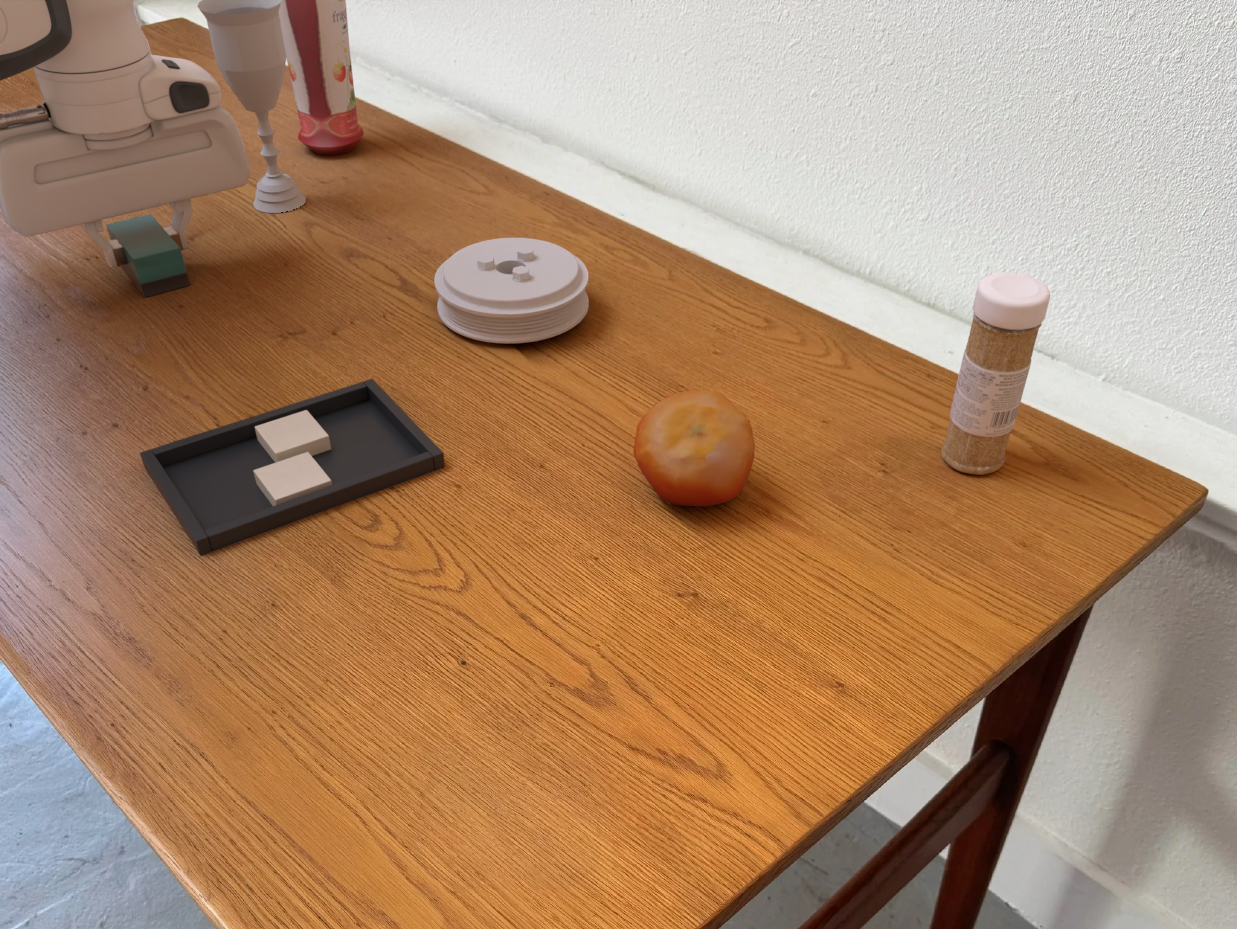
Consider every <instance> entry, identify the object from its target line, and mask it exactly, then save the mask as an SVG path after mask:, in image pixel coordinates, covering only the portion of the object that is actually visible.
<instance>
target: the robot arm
mask: <svg viewBox="0 0 1237 929" xmlns="http://www.w3.org/2000/svg"><path fill="white" fill-rule="evenodd" d="M135 2H136V0H0V81H3V80H6V79H8V78H11V77H14V76H16V75H18V74H21V73H23V72H26V71H28V70H31V69H32V68H33V72H34V74H35V78H36V80H37V83H38V84H37V85H38V87H39V90H40V94H41V97H42V99H43V103H41V104H36V105H31V106H27V107H22V108H20V109H16V110H13V111H10V112H9V111H8V112H0V211H1V214H2V217H3V219H4V221H5V222H6V224H7V225H8V227H9V228H10V229H11V230H12V231H14V232H15V233H17V234H19V235H20V236H22V237H25V238H30V237H34V236H38V235H39V236H40V235H42V234H43V235H44V234H46V233H47V234H48V233H52V232H55V231H56V232H57V231H59V230H63V229H68V228H72V227H77V226H80V228H82V229H83V232H85V234H86V235H87V236H88V237H89V239H91V240H92V241H93V242H95V243H96V245H98V246H99V247H100V248H101V249H102V252H103V256H104V258H105V261H106V263H107V265H108V266H109V268H111V269H115V268H118V267H121V266H122V265H126V264H128V263H127V259H126V257H125V252H124V249H123V246H122V245H121V244H120V243H119V241H118V240H117V239H114V240H108V239H107V238H106V237H104V235H102V232H104V230H105V229H104V224H103V220H106V219H110V218H115V217H118V216H124V215H127V214H132V213H136V212H141V211H145V210H148V209H153V208H157V207H161V206H166V205H169V206H170V207H171V208H172V209H173V210H174V211H173V214H172V218H171V221H170V225H168V226H164V227H162V228H163V229H164V230H165V231H166V232H167V233H168V234H169V236H170V237H171V238H172V239H173V240H174V241H175V243H176V244H177V245H178V246H179V247H180V249H181V252H182V251H186V250H189V243H188V239H187V235H186V231H187V229H188V226H189V223H190V220H191V216H192V213H193V211H194V210H193V206H192V203H191V202H192V201H191V200H192V199H195V198H199V197H204V196H208V195H212V194H216V193H221V192H225V191H229V190H234V189H238V188H243V187H245V186H246V185H247V183H248V180H249V179H250V176H251V173H252V170H251V165H250V160H249V157H248V154H247V149H246V146H245V143H244V140H243V138H242V135H241V132H240V129H239V126H238V124H237V122H236V120H235V118H234V117H233V116H232V114H231V113H230V112H229V111H228V110H227V109H226V108H225V107H224V106H222V105H221V104H222V101H223V97H222V90H221V87H220V85H219V83H218V82H217V80H216V79H215V78H214V77H213V76H212V75H211V74H210V72H208V71H207V70H206V69H204V67H202V66H200V65H198V64H197V63H195V62H194V61H191V60H189V59H184V58H178V57H172V56H163V55H158V54H157V55H156V54H152V51H151V47H150V44H149V41H148V38H147V37H146V34H145V33H144V31H143V29H142V27H141V26H140V23H139V20H138V16H137V13H136V12H137V11H136V3H135Z"/></svg>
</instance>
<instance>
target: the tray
mask: <svg viewBox="0 0 1237 929" xmlns="http://www.w3.org/2000/svg"><path fill="white" fill-rule="evenodd" d="M304 410H307V411H308V412H309V413H310V414H311V415H312V417H313V418H314V419H315V420H316V421H317V422H318V424H319V425H320V426H321V427H322V428H323V430H324V431H325V432H326V433H327V434H328V435H329V439H330V444H331V450H328V451H325V452H322V453H319V454H316V455H313V456H312V457H313V458H314V460H315V461H316V462H317V463H318V465H319V466H320V467H321V468H322V470H323V471H324V472H325V473H326V474H327V476H328V477H329V478H330V479H331V481H332V486H329V487H326V488H323V489H320V490H318V491H315V492H312V493H309V494H306V495H303V496H301V497H298V498H295V499H292V500H289V501H287V502H284V503H281V504H278V505H275V506H272V504H271V503H270V502H269V500H268V499H267V498H266V496H265V495H264V493H263V492H262V491H261V489H260V488H259V487H258V485H257V484H256V480H255V476H254V472H253V470H256V469H258V468H261V467H264V466H267V465H270V464H273V463H275V462H274V461H273V459H272V458H271V457H270V455H269V454H268V453H267V452H266V450H265V449H264V448H263V446H262V445H261V444H260V442H259V441H258V439H257V435H256V431H255V426H258V425H261V424H264V423H267V422H270V421H273V420H277V419H280V418H283V417H286V416H289V415H292V414H295V413H298V412H301V411H304ZM139 455H140V458H141V461H142V464H143V467H144V469H145V471H146V472H147V474H148V476H149V477H150V478H151V480H152V482H153V483H154V485H155V486H156V488H157V490H158V491H159V493H160V495H161V496H162V498H163V499H164V501H165V502H166V504H167V505H168V507H169V509H170V510H171V512H172V513H173V515H174V517H175V518H176V520H177V522H178V523H179V524H180V526H181V528H182V529H183V531H184V532H185V534H186V536H187V537H188V539H189V541H190V542H191V543H192V545H193V547H194V548H195V550H196V551H197V553H198V555H199V556H200V557H202V556H205V555H207V554H211V553H214V552H216V551H219V550H222V549H225V548H226V547H230V546H232V545H235V544H239V543H241V542H244V541H247V540H249V539H252V538H254V537H257V536H259V535H263V534H265V533H269V532H271V531H274V530H277V529H280V528H282V527H285V526H288V525H290V524H294V523H295V522H299V521H302V520H305V519H307V518H310V517H313V516H315V515H318V514H321V513H324V512H327V511H329V510H332V509H334V508H337V507H340V506H343V505H345V504H348V503H352V502H353V501H356V500H359V499H363V498H365V497H367V496H370V495H373V494H377V493H378V492H382V491H385V490H387V489H390V488H392V487H395V486H398V485H401V484H403V483H407V482H409V481H412V480H414V479H415V480H416V479H418V478H421V477H423V476H426V475H428V474H431V473H435V472H436V471H439V470H442V469H445V468H446V464H445V456H444V452H443V451H442V450H441V449H440V448H439V447H438V445H437V444H436V443H435V442H434V441H433V440H432V439H431V438H430V437H429V436H428V435H427V434H426V433H425V432H424V431H423V430H422V429H421V428H420V427H419V426H418V424H417V423H416V422H415V421H414V420H413V419H411V417H410V416H409V415H408V414H407V413H406V412H405V411H404V410H403V409H402V407H400V406H399V405H398V404H397V403H396V402H395V401H394V400H393V398H392V397H391V396H390V395H389V394H388V393H386V391H385V390H384V389H383V388H382V386H380V385H379V384H378V383H377V382H376V381H375V380H374V379H373V378H369V379H366V380H363V381H360V382H357V383H354V384H351V385H347V386H344V387H342V388H338V389H335V390H332V391H328V392H325V393H322V394H319V395H316V396H313V397H309V398H307V399H304V400H301V401H298V402H297V401H296V402H294V403H291V404H288V405H285V406H281V407H279V408H276V409H272V410H268V411H266V412H263V413H258V414H256V415H253V416H250V417H246V418H244V419H240V420H237V421H233V422H232V423H228V424H225V425H222V426H218V427H215V428H213V429H209V430H206V431H204V432H200V433H196V434H194V435H190V436H187V437H183V438H181V439H178V440H175V441H172V442H168V443H165V444H162V445H159V446H156V447H153V448H151V449H147V450H143V451H140V453H139Z"/></svg>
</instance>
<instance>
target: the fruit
mask: <svg viewBox="0 0 1237 929" xmlns="http://www.w3.org/2000/svg"><path fill="white" fill-rule="evenodd" d="M634 436H635V437H634V441H633V442H634V444H633V456H634V458H635V460H636V463H637V466H638V468H639V470H640V471H641V473H642V475H643V476H644V477H645V479H646V481H647V482H648V484H649V485H650V486H651V488H652V489H653V490H654V492H655V493H656V495H657V496H658V497H659V499H660V500H661V501H663V502H665V503H666V504H668V505H671V506H678V507H712V506H717V505H722V504H725V503H728V502H730V501H731V500H733V499H735V498H736V497H737V496H739V495H740V494H741V492H743V490H744V488H745V485H746V483H747V480H748V478H749V476H750V473H751V471H752V468H753V463H754V460H755V450H756V443H755V440H754V431H753V427H752V425H751V422H750V419H749V418H748V416H747V415H746V413H745V412H744V411H742V410H741V409H739V408H738V407H737V406H736V405H735V404H734V403H733V402H732V401H731V400H730V399H729V398H728V397H727V396H725V394H723V393H721V392H719V391H716V390H709V389H696V388H695V389H689V390H684V391H680V392H677V393H673V394H670V395H669V396H666V397H665V398H662V399H661V400H660V401H658V402H656V403H655V404H654V405H653V406H652V407H651V408H649V409H648V410H647V411H646V412H645V413H644V415H643V416H642V417H641V419H640V420H639V422H638V424H637V426H636V432H635V435H634Z"/></svg>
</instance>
